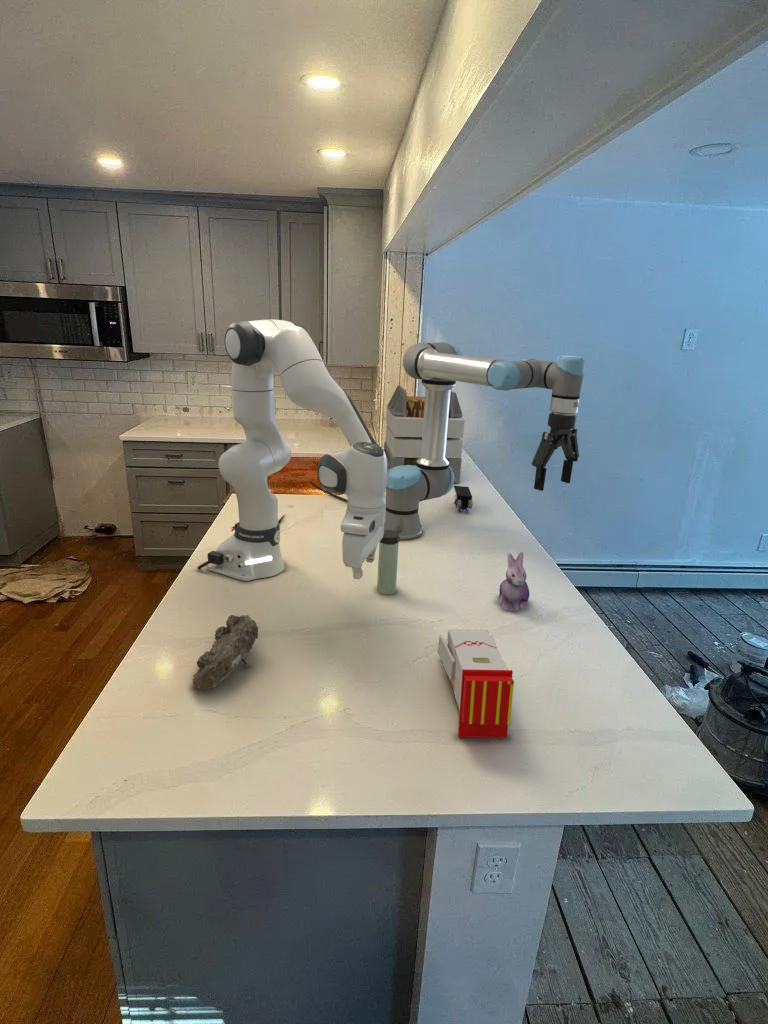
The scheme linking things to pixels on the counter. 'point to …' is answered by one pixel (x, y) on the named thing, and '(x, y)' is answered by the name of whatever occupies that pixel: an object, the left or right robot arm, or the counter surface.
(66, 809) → the counter surface
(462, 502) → the figurine character
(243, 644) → the fossil
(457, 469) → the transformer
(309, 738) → the counter surface
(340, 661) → the counter surface
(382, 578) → the pale green tall cylinder
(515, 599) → the figurine
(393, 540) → the lid
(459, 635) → the toy
